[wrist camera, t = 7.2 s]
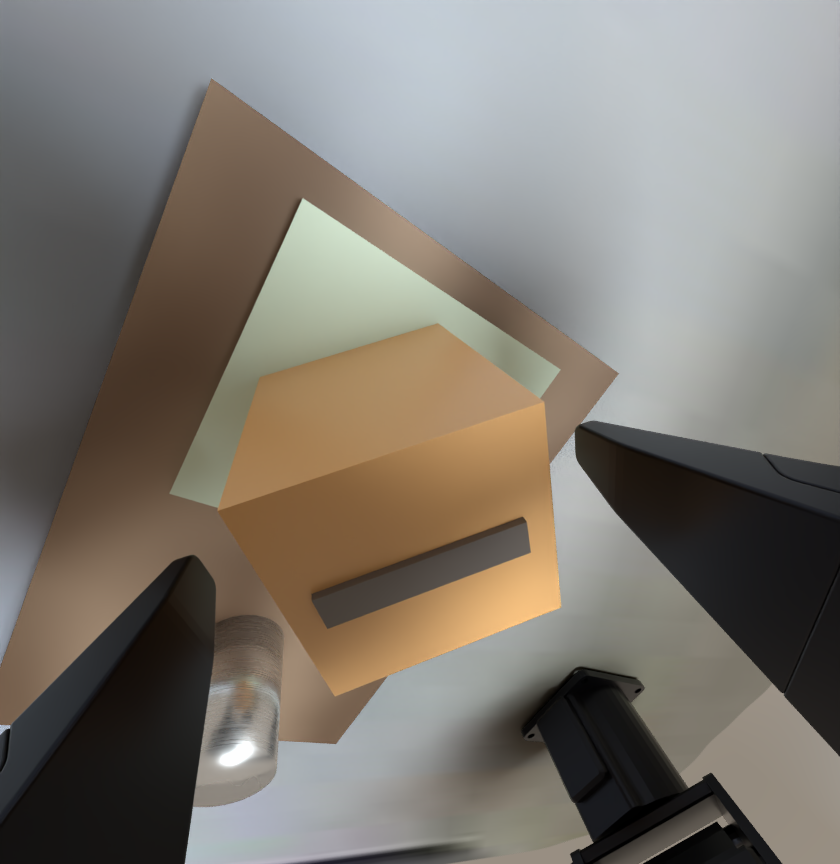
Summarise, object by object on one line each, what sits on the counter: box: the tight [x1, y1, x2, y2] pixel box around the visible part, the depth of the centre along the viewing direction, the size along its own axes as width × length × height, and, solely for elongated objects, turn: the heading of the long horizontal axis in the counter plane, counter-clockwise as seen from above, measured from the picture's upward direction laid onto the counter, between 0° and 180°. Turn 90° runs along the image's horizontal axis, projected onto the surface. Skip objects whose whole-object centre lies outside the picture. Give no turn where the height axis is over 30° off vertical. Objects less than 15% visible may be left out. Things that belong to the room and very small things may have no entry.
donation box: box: [217, 323, 561, 696], centre depth 10 cm, size 5×5×6 cm
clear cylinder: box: [193, 615, 284, 807], centre depth 14 cm, size 3×3×4 cm
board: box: [0, 78, 619, 744], centre depth 15 cm, size 14×22×1 cm, turn 148°
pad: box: [169, 199, 561, 508], centre depth 13 cm, size 9×9×1 cm
